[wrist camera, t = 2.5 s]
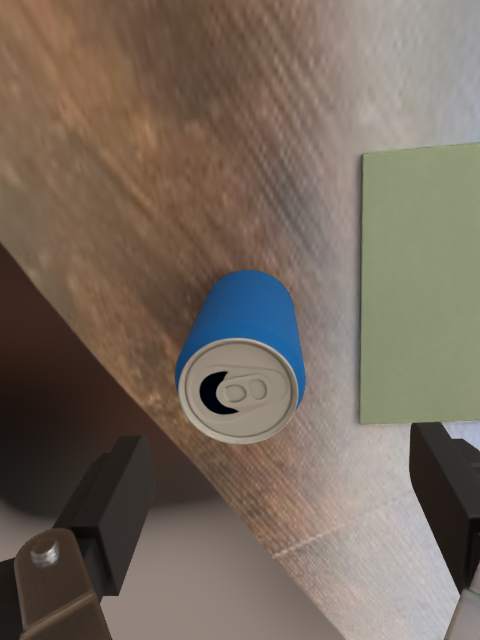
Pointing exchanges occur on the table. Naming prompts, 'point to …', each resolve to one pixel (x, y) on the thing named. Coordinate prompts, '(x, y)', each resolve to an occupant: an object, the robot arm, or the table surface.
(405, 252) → the desk mat
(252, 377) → the beverage can
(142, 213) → the table surface
